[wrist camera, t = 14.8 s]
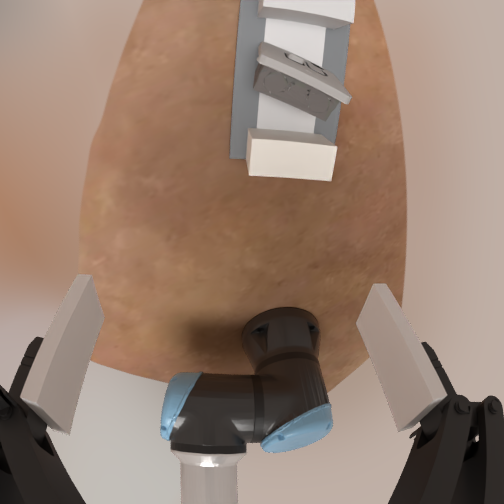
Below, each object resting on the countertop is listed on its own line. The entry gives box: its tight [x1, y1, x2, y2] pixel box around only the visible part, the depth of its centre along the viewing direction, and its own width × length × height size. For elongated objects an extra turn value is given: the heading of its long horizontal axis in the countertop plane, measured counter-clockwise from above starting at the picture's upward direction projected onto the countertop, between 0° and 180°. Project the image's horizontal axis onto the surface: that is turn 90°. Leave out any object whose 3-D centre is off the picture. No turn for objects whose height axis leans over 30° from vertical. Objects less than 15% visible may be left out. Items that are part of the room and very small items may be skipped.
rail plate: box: [230, 0, 355, 181], centre depth 27 cm, size 22×13×7 cm, turn 176°
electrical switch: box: [253, 41, 352, 121], centre depth 25 cm, size 9×5×9 cm, turn 67°
